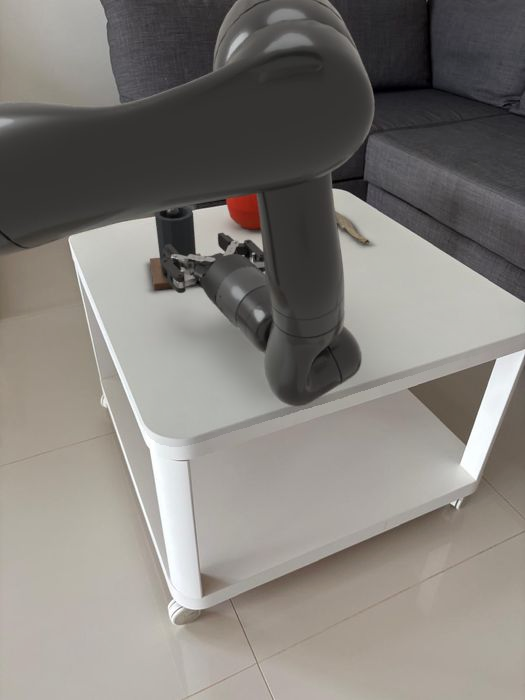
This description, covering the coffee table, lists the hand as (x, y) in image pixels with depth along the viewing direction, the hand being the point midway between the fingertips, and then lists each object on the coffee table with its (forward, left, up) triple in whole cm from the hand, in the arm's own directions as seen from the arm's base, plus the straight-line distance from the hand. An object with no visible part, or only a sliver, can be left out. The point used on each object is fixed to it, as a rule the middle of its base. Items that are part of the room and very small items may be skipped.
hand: (194, 244), depth 82 cm
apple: (+15, +25, -10) cm, 31 cm away
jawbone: (+29, +20, -10) cm, 37 cm away
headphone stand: (-2, +8, -10) cm, 13 cm away
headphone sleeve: (-2, +8, -8) cm, 12 cm away
